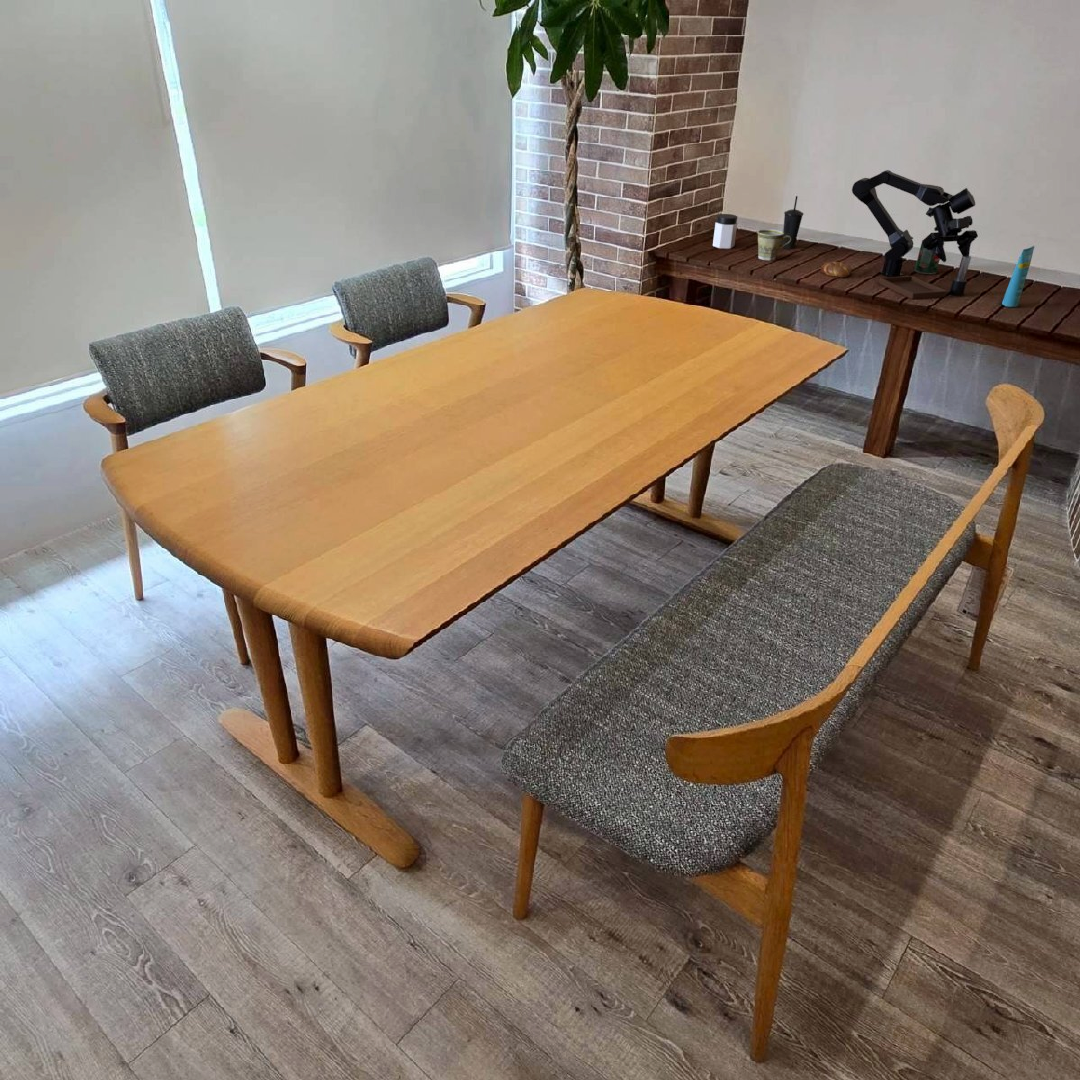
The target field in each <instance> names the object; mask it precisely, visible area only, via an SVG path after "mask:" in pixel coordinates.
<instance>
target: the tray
mask: <svg viewBox="0 0 1080 1080" xmlns="http://www.w3.org/2000/svg"><path fill="white" fill-rule="evenodd" d="M878 284H879V285H880V286H884V287H886V288H888V289H890V290H891V291H893V292H896V293H898V294H900V295H902V296H904V297H906V298H908V299H910V300H921V299H922V300H923V299H933V298H934V299H935V298H945V297H946V295H947V293H948V291H947V290H946V289H943V288H941V287H938V286H937V285H934V284H932V283H930V282H928V281H925V280H923V279H921V278H918V277H916V276H914V275H903V276H895V277H887V276H884V277H879V280H878Z"/></svg>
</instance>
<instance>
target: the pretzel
mask: <svg viewBox="0 0 1080 1080" xmlns="http://www.w3.org/2000/svg"><path fill="white" fill-rule="evenodd" d="M820 271H821V273H822V274H825V275H827V276H830V277H837V278H842V279H843V278H846V277H848V276H851V274H852V267H851V266H850V265H848V264H847V263H844V262H840V261H826V262H825V263H823V264H822V265H821V267H820Z"/></svg>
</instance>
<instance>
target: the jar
mask: <svg viewBox="0 0 1080 1080" xmlns="http://www.w3.org/2000/svg"><path fill="white" fill-rule="evenodd" d="M714 223H715V224H714V232H713V239H712V246H713V247H715V248H717V249H725V250H729V249H732V248H733V247H735V244H736V237H737V231H738V230H737V229H738V216H737V215H736V214H730V213H720V214H717V215H716V222H714Z"/></svg>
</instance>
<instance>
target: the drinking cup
mask: <svg viewBox="0 0 1080 1080" xmlns="http://www.w3.org/2000/svg"><path fill="white" fill-rule="evenodd" d="M798 197H799V196H798V195H796V196H795V200H794V205H793V208H792V209H788V210H785V211H784V212H783V214H784V218H783V229H782V230H783V231H782V232H783V233H784V235H783V236H786V235H789V236H790V237H791V241H790V238H789V237H786V238H784V239H783V240H782V242H781V247H782V246H783V245H784V244H786V243H787V242H789V241H790V242H789V243H788V244H786V245H785V246H783V247H782V248H783V249H787V250H792V249H794V248H795V245H796V241H797V238H798V234H799V231H800V226H801V223H802V219H803V216H804V214H805V213H804V212H802V211H800V210H799V209H797V203H798Z"/></svg>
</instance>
